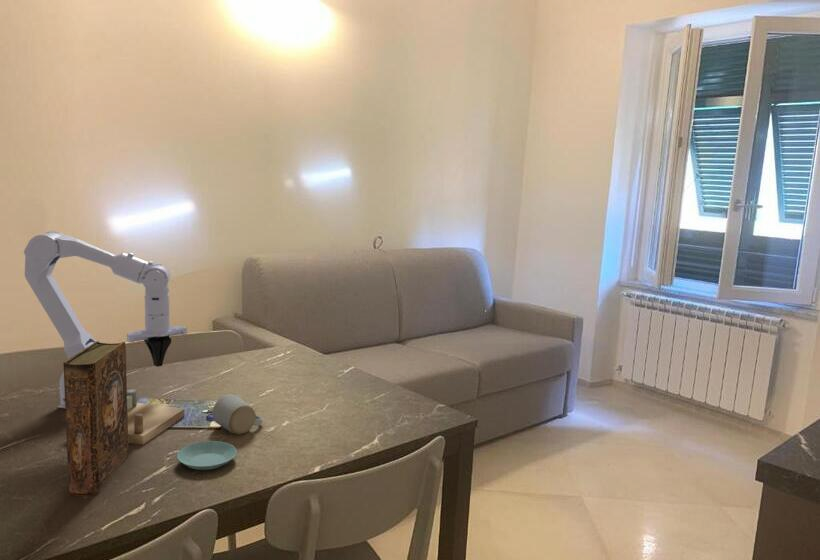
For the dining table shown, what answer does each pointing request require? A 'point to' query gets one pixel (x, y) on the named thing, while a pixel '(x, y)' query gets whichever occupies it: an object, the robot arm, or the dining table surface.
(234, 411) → the ceramic mug
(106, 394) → the book
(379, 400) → the dining table surface
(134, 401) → the leg
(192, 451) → the saucer
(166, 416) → the stool seat
